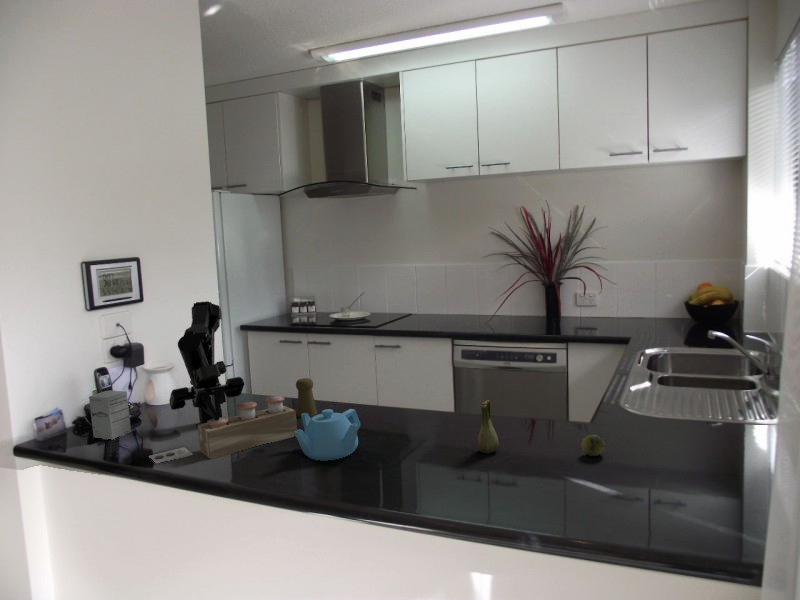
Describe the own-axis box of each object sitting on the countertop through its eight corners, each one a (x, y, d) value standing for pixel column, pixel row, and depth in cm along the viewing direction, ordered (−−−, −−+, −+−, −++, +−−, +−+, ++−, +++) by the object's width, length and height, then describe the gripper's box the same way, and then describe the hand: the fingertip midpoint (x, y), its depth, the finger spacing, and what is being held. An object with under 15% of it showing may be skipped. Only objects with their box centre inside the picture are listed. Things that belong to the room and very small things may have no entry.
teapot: (360, 461, 147) (357, 417, 146) (296, 466, 146) (293, 422, 145) (362, 440, 162) (358, 400, 161) (303, 445, 161) (300, 404, 160)
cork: (313, 417, 186) (310, 381, 184) (294, 417, 187) (290, 381, 186) (319, 411, 191) (316, 376, 190) (301, 411, 193) (298, 376, 192)
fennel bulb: (488, 446, 151) (485, 397, 150) (504, 450, 148) (502, 400, 146) (473, 453, 147) (470, 403, 146) (489, 457, 144) (486, 406, 142)
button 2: (263, 416, 170) (261, 398, 169) (280, 412, 173) (279, 394, 172) (271, 420, 166) (269, 402, 165) (289, 416, 169) (287, 398, 168)
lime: (578, 455, 141) (577, 434, 141) (595, 451, 143) (594, 430, 142) (592, 461, 137) (591, 439, 136) (609, 457, 139) (608, 435, 138)
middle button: (235, 423, 165) (233, 405, 165) (253, 418, 168) (252, 400, 168) (242, 427, 161) (240, 408, 161) (261, 422, 164) (259, 404, 164)
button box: (200, 451, 162) (197, 425, 161) (285, 429, 175) (282, 405, 175) (210, 458, 155) (208, 431, 154) (297, 435, 169) (295, 410, 168)
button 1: (206, 439, 161) (204, 420, 160) (225, 434, 164) (224, 416, 163) (213, 444, 157) (211, 424, 156) (233, 439, 160) (231, 420, 159)
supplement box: (92, 439, 179) (87, 396, 177) (113, 431, 185) (108, 389, 184) (112, 440, 176) (106, 397, 174) (132, 432, 183) (127, 390, 181)
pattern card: (148, 457, 159) (148, 455, 159) (184, 448, 165) (183, 446, 165) (156, 464, 154) (155, 462, 154) (192, 455, 159) (192, 452, 159)
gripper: (167, 358, 157) (185, 409, 149) (238, 347, 168) (258, 394, 160) (162, 384, 164) (179, 434, 156) (230, 371, 175) (249, 417, 167)
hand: (217, 419), depth 160 cm, fingers closed, pressing on button 1
